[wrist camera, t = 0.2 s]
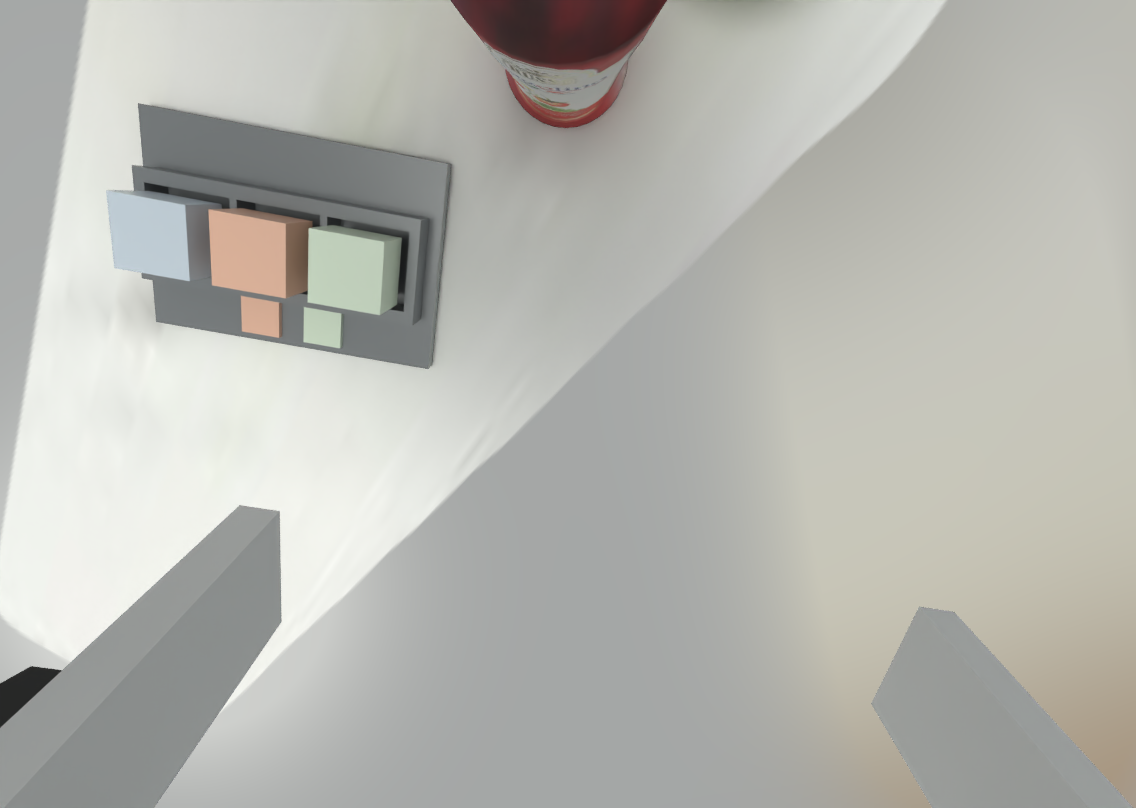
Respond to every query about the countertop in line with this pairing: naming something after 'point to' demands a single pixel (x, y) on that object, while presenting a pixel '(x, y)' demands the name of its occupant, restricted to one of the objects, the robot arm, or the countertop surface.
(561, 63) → the liquor
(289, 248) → the key terracotta
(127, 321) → the countertop surface
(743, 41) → the countertop surface
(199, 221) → the key bluegrey
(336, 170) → the keypad
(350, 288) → the key sage
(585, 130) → the countertop surface
